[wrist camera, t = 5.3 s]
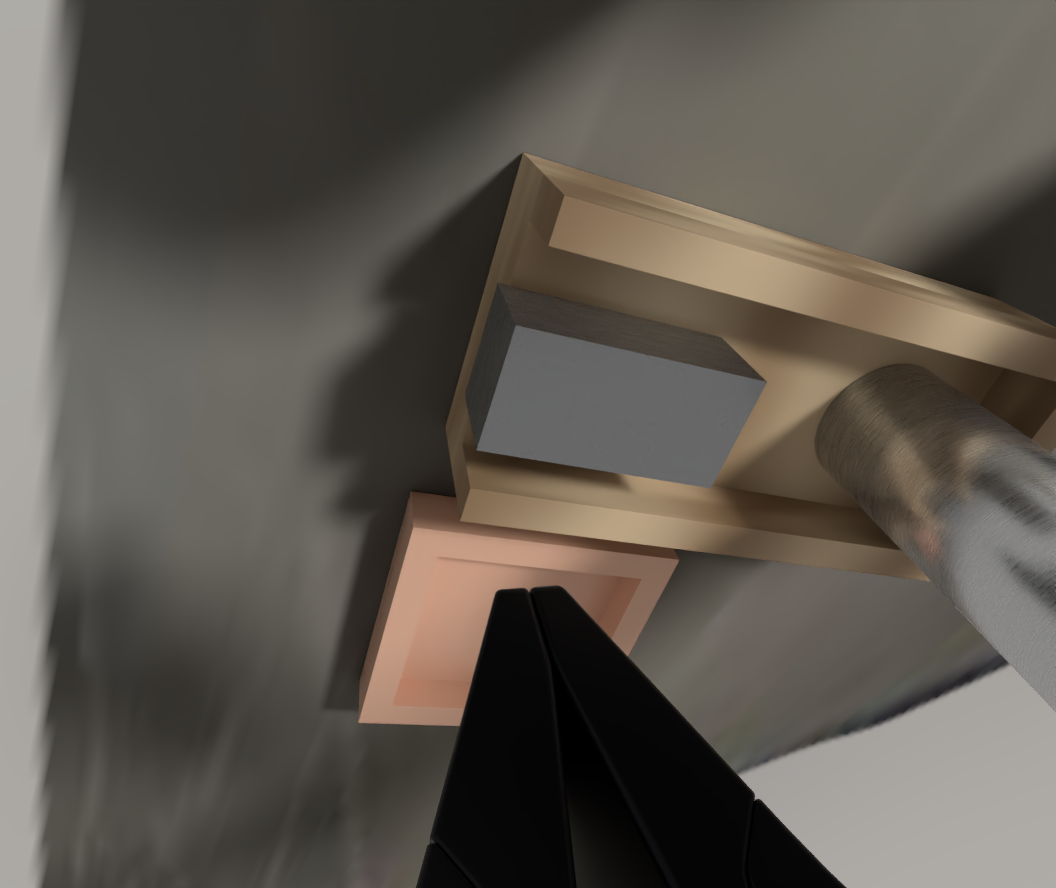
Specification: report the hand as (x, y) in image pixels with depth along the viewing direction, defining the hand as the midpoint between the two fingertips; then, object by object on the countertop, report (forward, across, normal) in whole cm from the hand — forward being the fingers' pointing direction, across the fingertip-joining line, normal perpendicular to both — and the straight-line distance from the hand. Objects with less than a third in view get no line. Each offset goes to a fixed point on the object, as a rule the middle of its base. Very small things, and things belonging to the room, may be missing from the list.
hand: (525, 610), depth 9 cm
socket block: (+12, -8, +2) cm, 15 cm away
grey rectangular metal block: (+9, -3, +1) cm, 10 cm away
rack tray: (+12, -2, +12) cm, 17 cm away
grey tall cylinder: (+9, -12, +3) cm, 16 cm away
